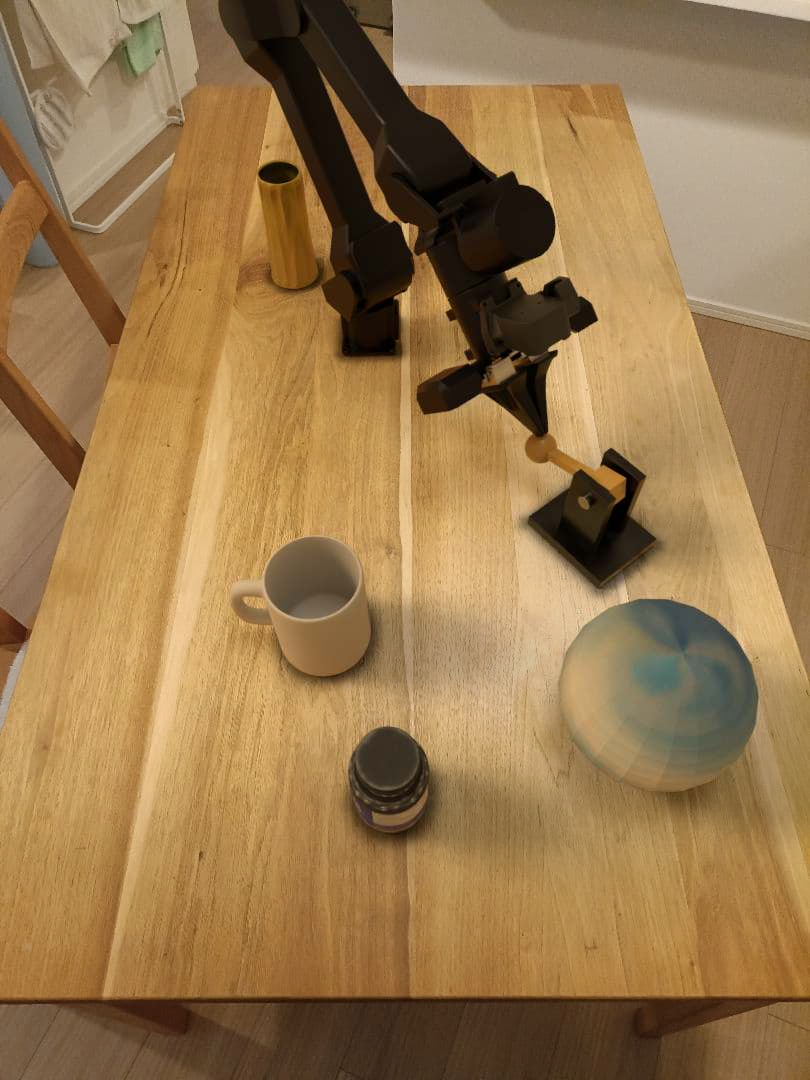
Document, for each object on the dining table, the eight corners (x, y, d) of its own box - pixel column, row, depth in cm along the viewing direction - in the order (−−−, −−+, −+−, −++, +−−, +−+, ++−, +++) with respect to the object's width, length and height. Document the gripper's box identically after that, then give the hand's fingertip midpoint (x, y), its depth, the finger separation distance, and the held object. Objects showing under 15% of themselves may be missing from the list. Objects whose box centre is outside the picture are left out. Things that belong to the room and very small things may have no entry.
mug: (373, 596, 74) (367, 534, 65) (367, 679, 70) (360, 624, 60) (250, 593, 75) (227, 530, 65) (236, 675, 70) (209, 620, 61)
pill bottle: (353, 763, 66) (342, 718, 56) (424, 757, 66) (425, 711, 56) (356, 839, 62) (346, 804, 53) (431, 832, 62) (434, 797, 53)
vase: (311, 292, 98) (296, 190, 86) (265, 287, 99) (245, 184, 87) (323, 262, 102) (311, 159, 90) (279, 257, 102) (261, 154, 90)
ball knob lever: (518, 460, 78) (517, 436, 76) (541, 445, 79) (540, 420, 77) (605, 515, 71) (606, 489, 69) (628, 497, 72) (630, 471, 70)
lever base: (526, 522, 79) (539, 463, 70) (581, 483, 81) (600, 421, 73) (598, 589, 74) (620, 533, 66) (653, 545, 77) (682, 486, 69)
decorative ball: (724, 828, 62) (802, 776, 50) (539, 796, 64) (569, 737, 51) (716, 660, 70) (782, 578, 58) (552, 635, 72) (581, 550, 59)
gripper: (438, 311, 60) (519, 484, 65) (604, 218, 66) (667, 382, 71) (381, 334, 70) (454, 482, 75) (529, 252, 76) (589, 393, 81)
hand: (542, 435), depth 75 cm, fingers closed
